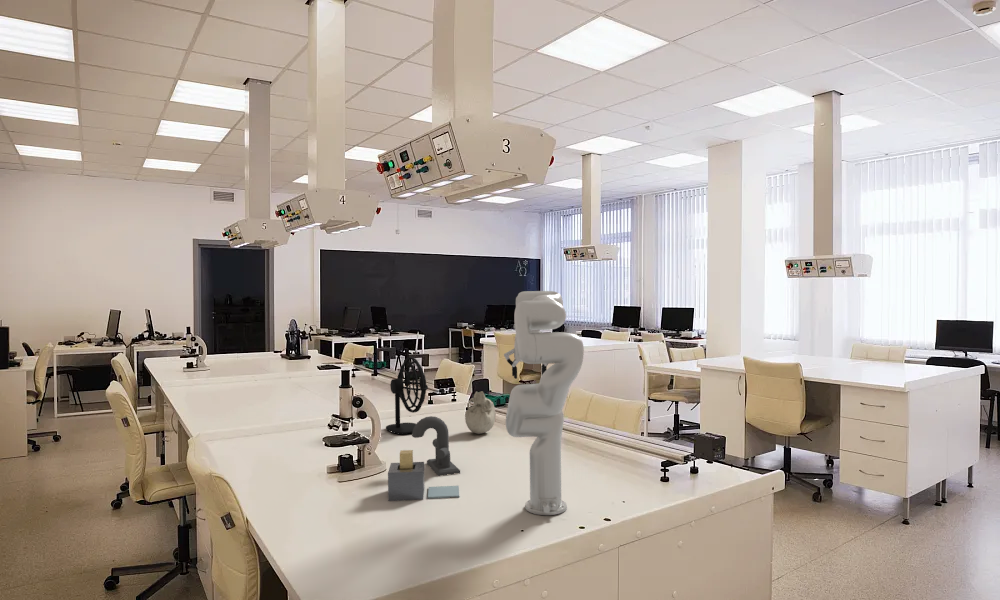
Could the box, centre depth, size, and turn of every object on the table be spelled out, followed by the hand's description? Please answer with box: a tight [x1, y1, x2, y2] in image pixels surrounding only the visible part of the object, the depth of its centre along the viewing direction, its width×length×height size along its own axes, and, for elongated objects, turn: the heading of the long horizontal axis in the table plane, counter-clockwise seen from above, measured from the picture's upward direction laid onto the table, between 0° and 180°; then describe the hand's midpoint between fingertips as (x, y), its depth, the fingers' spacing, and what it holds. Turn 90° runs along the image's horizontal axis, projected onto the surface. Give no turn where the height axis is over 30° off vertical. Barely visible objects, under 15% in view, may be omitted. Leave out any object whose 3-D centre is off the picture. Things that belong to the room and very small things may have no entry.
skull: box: [464, 391, 496, 435], centre depth 280 cm, size 13×15×20 cm
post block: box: [387, 461, 425, 502], centre depth 196 cm, size 11×11×9 cm
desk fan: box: [385, 356, 429, 435], centre depth 288 cm, size 27×18×35 cm, turn 32°
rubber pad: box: [427, 485, 460, 500], centre depth 197 cm, size 10×10×1 cm
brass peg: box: [399, 449, 414, 470], centre depth 196 cm, size 4×4×12 cm
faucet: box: [411, 415, 461, 477], centre depth 223 cm, size 18×16×20 cm
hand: (529, 377), depth 205 cm, fingers open, 9 cm apart
